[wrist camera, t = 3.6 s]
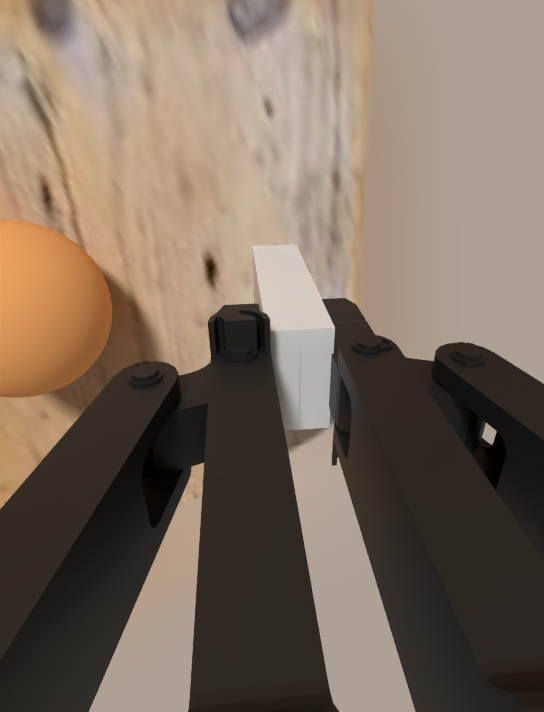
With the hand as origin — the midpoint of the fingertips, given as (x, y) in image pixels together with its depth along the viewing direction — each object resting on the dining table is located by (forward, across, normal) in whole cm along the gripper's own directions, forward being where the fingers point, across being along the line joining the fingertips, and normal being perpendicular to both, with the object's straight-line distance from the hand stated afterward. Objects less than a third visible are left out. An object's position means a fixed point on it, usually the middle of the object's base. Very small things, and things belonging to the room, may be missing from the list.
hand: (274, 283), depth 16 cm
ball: (-1, -8, 0) cm, 8 cm away
